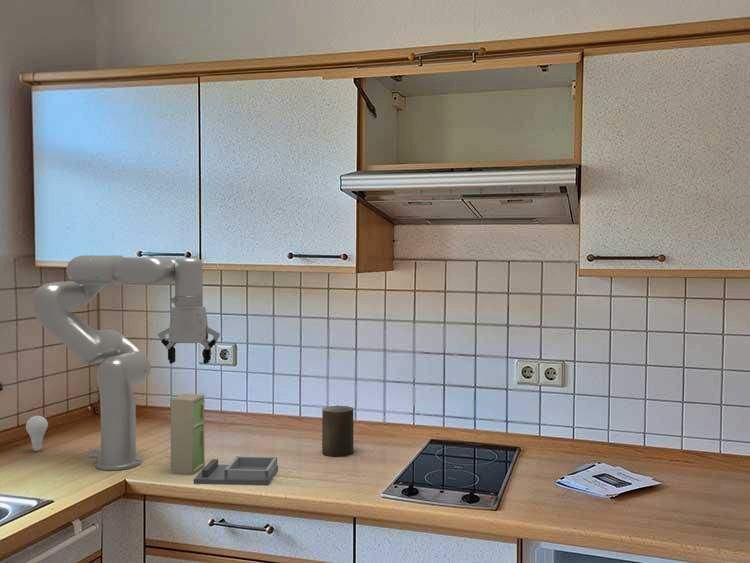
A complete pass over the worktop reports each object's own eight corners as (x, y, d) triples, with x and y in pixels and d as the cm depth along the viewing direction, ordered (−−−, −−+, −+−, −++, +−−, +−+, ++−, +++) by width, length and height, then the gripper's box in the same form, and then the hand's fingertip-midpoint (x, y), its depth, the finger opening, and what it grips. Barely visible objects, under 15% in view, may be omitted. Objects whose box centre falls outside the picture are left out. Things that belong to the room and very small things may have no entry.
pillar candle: (350, 457, 208) (350, 407, 208) (318, 456, 210) (318, 406, 209) (356, 449, 218) (356, 401, 218) (325, 447, 219) (325, 400, 219)
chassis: (193, 483, 184) (193, 469, 184) (208, 468, 198) (208, 455, 197) (268, 485, 183) (268, 471, 183) (278, 469, 196) (278, 456, 196)
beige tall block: (194, 475, 192) (194, 399, 191) (170, 473, 193) (169, 398, 192) (207, 466, 199) (207, 393, 199) (183, 465, 201) (183, 392, 200)
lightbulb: (49, 447, 219) (48, 413, 218) (46, 452, 213) (46, 417, 213) (27, 449, 217) (27, 414, 217) (24, 454, 211) (24, 418, 211)
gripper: (153, 302, 191) (154, 364, 192) (215, 303, 191) (216, 365, 191) (163, 301, 199) (163, 360, 199) (223, 301, 198) (223, 361, 199)
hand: (189, 362), depth 195 cm, fingers open, 9 cm apart
